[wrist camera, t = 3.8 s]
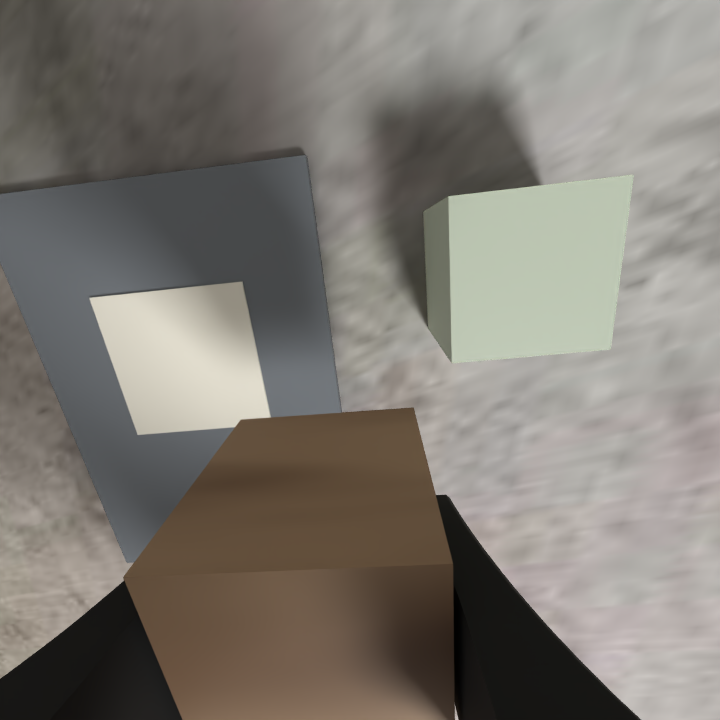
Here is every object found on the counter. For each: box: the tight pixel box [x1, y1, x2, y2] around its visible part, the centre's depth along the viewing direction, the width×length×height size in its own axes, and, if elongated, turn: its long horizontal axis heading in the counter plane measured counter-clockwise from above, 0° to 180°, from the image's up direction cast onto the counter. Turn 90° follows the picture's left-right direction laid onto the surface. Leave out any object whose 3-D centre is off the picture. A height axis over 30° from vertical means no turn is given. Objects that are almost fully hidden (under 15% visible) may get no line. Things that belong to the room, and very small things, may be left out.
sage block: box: [423, 175, 634, 363], centre depth 13 cm, size 5×5×5 cm
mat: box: [0, 155, 342, 563], centre depth 17 cm, size 20×14×1 cm
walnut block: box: [123, 408, 455, 720], centre depth 8 cm, size 5×5×5 cm
